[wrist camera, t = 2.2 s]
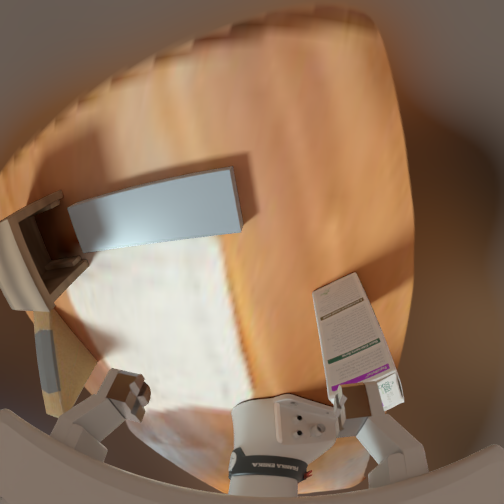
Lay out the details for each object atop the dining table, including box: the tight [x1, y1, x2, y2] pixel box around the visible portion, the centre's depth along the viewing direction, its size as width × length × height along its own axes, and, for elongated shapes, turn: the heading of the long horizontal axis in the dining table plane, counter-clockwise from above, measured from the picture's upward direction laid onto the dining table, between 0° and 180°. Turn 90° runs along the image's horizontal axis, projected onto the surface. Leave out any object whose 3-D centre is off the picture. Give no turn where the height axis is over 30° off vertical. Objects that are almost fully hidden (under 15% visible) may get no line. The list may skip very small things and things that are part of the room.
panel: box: [67, 166, 244, 253], centre depth 27 cm, size 20×6×2 cm, turn 99°
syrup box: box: [312, 272, 404, 411], centre depth 24 cm, size 6×6×14 cm
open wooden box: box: [0, 190, 89, 312], centre depth 25 cm, size 10×11×10 cm
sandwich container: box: [33, 308, 98, 418], centre depth 34 cm, size 9×15×15 cm, turn 24°
